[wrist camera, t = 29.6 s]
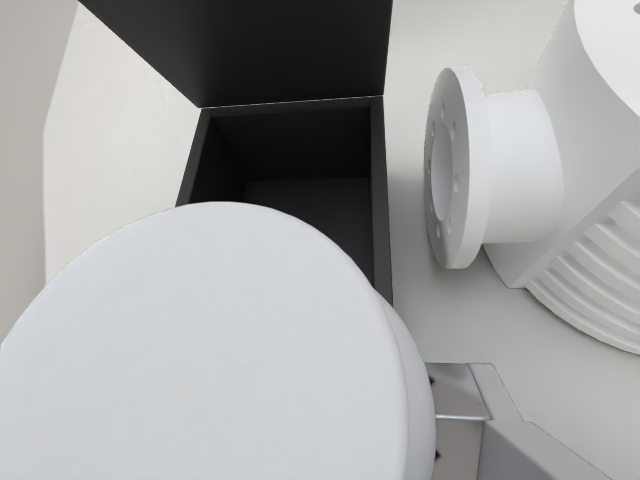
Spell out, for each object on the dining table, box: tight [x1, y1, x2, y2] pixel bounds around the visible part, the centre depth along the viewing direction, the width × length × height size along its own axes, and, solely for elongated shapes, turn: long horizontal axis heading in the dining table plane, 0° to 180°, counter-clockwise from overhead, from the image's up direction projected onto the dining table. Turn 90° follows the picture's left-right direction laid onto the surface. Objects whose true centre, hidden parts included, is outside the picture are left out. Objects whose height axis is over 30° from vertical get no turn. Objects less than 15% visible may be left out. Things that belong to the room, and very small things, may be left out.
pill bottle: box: [0, 202, 436, 480], centre depth 8 cm, size 6×6×11 cm
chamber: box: [175, 96, 393, 308], centre depth 22 cm, size 14×12×8 cm
